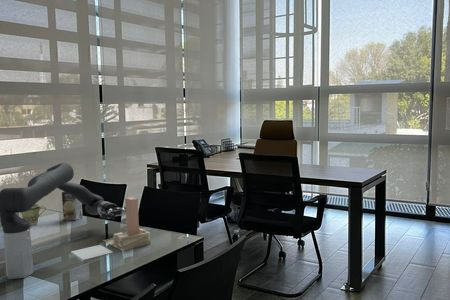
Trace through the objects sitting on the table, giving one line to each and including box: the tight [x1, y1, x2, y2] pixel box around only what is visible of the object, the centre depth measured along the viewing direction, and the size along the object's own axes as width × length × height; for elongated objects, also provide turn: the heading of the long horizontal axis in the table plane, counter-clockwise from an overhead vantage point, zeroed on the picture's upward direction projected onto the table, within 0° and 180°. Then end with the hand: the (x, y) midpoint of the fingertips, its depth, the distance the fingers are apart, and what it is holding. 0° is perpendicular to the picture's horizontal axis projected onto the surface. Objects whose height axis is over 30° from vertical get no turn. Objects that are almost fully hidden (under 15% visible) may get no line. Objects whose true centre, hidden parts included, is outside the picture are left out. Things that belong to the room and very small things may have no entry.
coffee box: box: [61, 191, 83, 221], centre depth 248 cm, size 9×6×16 cm
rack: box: [102, 227, 151, 251], centre depth 196 cm, size 20×14×6 cm
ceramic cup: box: [20, 203, 46, 226], centre depth 240 cm, size 13×10×10 cm
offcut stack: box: [112, 232, 128, 248], centre depth 191 cm, size 8×4×4 cm, turn 39°
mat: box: [70, 244, 113, 264], centre depth 183 cm, size 14×13×2 cm
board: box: [124, 196, 140, 236], centre depth 194 cm, size 6×3×20 cm, turn 39°
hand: (122, 215), depth 202 cm, fingers open, 8 cm apart
